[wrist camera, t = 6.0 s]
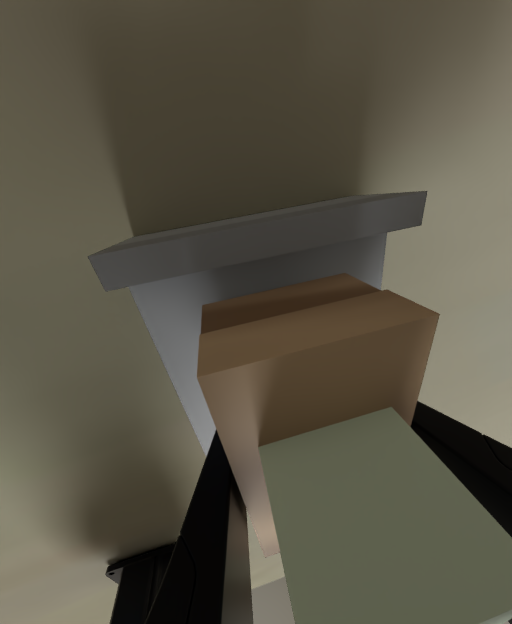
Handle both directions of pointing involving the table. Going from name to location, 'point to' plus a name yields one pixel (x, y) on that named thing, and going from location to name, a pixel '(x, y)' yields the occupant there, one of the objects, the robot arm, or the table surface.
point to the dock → (246, 270)
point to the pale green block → (382, 529)
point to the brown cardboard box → (306, 369)
